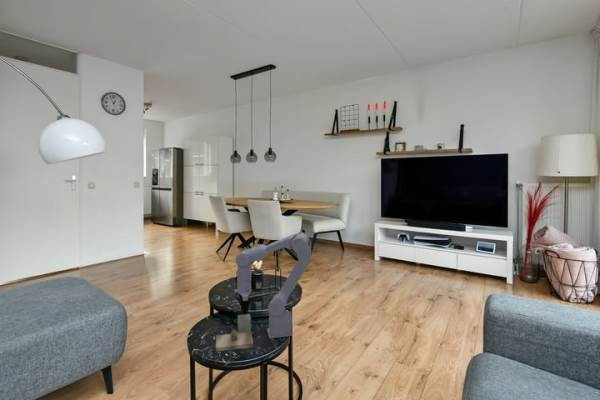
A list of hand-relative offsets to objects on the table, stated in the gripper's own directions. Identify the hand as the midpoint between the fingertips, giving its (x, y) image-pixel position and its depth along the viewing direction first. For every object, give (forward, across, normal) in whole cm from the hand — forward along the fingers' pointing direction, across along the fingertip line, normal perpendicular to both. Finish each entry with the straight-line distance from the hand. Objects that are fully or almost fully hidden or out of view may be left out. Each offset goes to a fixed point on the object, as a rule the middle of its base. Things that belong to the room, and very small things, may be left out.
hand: (244, 310), depth 132 cm
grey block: (+8, 0, 0) cm, 9 cm away
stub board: (+8, +10, -4) cm, 14 cm away
